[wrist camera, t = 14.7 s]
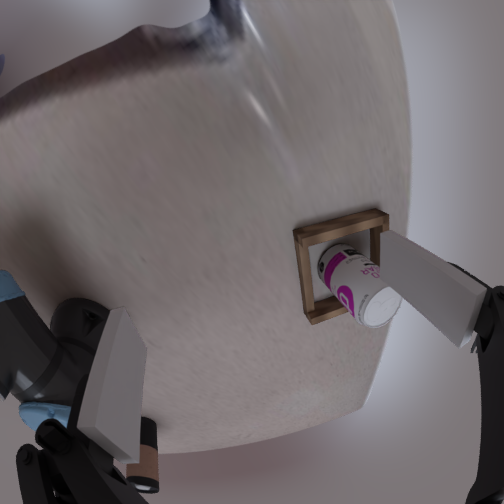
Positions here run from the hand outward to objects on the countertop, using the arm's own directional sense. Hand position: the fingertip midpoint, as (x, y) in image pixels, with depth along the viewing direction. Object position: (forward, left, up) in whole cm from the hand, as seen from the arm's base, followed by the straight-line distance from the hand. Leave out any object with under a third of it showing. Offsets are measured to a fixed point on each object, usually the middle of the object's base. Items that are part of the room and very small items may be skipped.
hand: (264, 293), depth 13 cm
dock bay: (+19, -18, -29) cm, 39 cm away
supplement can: (+18, -18, -29) cm, 38 cm away
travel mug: (-34, -50, -29) cm, 67 cm away
